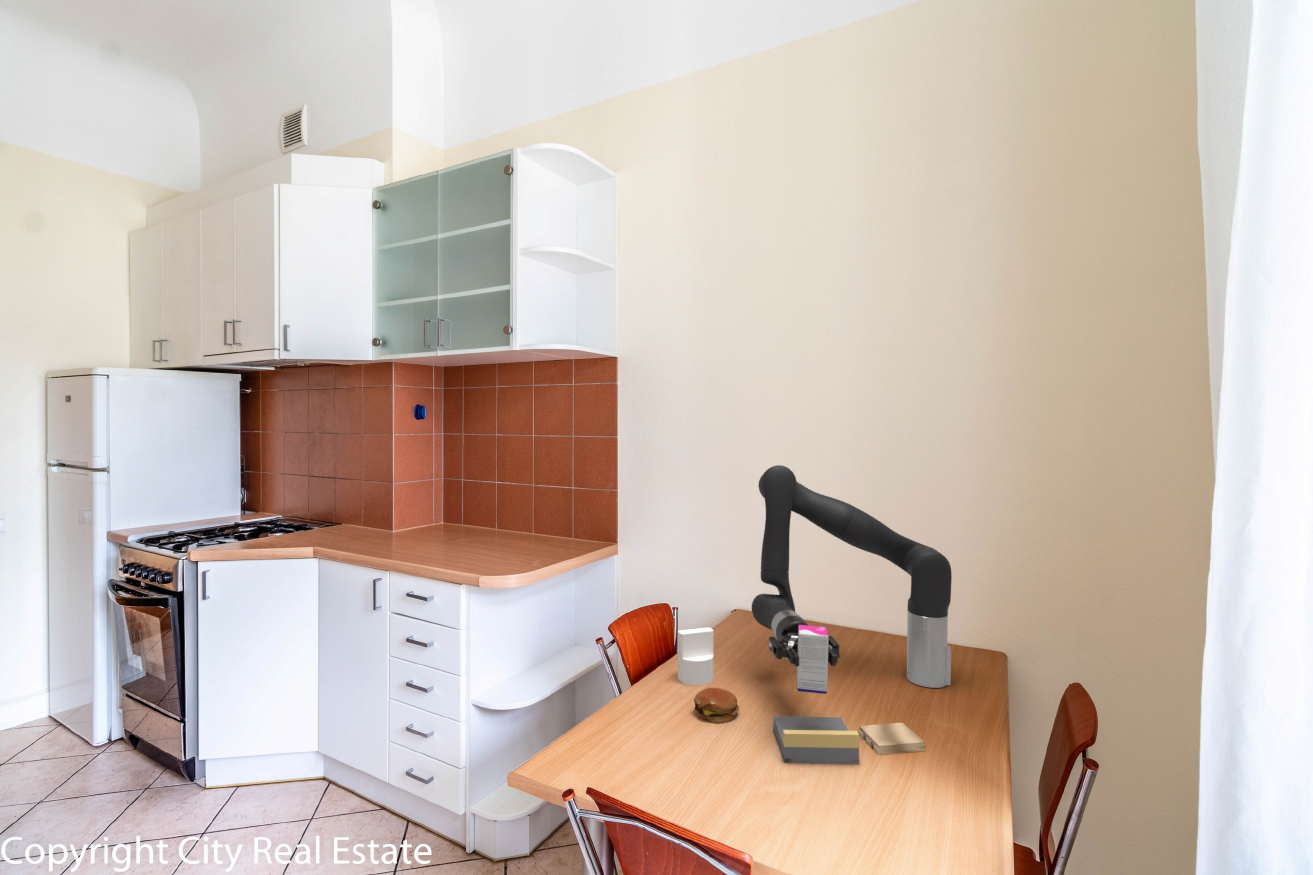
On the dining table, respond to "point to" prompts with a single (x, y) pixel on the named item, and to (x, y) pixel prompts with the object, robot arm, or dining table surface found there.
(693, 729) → the dining table surface
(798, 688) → the supplement box
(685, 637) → the cylinder with rectangular tab
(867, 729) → the block
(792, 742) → the dock
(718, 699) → the burger
